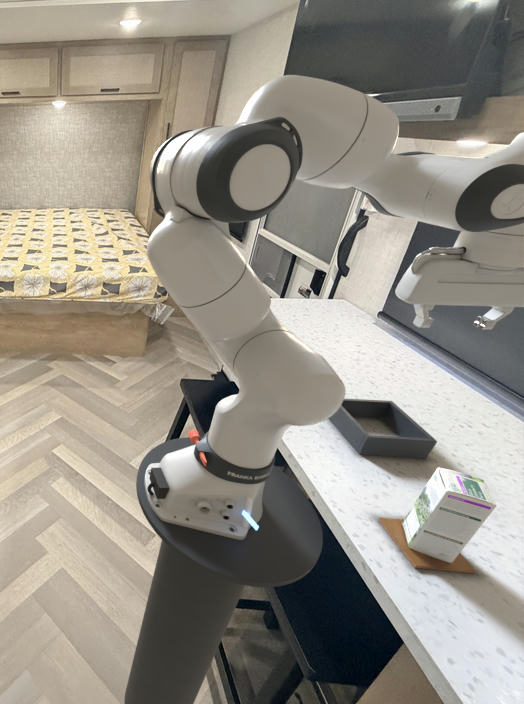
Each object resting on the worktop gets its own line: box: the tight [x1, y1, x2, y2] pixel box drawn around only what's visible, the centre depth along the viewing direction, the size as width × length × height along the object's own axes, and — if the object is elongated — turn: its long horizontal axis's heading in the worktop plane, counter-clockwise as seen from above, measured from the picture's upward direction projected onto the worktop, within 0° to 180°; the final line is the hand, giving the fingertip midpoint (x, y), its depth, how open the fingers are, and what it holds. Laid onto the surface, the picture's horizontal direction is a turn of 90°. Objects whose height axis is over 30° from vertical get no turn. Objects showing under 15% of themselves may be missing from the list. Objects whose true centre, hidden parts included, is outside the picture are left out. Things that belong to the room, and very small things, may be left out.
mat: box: [377, 517, 477, 574], centre depth 69 cm, size 9×9×1 cm
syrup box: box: [402, 466, 497, 563], centre depth 65 cm, size 6×6×14 cm
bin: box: [328, 398, 438, 459], centre depth 91 cm, size 14×14×5 cm
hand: (450, 327), depth 67 cm, fingers open, 8 cm apart
